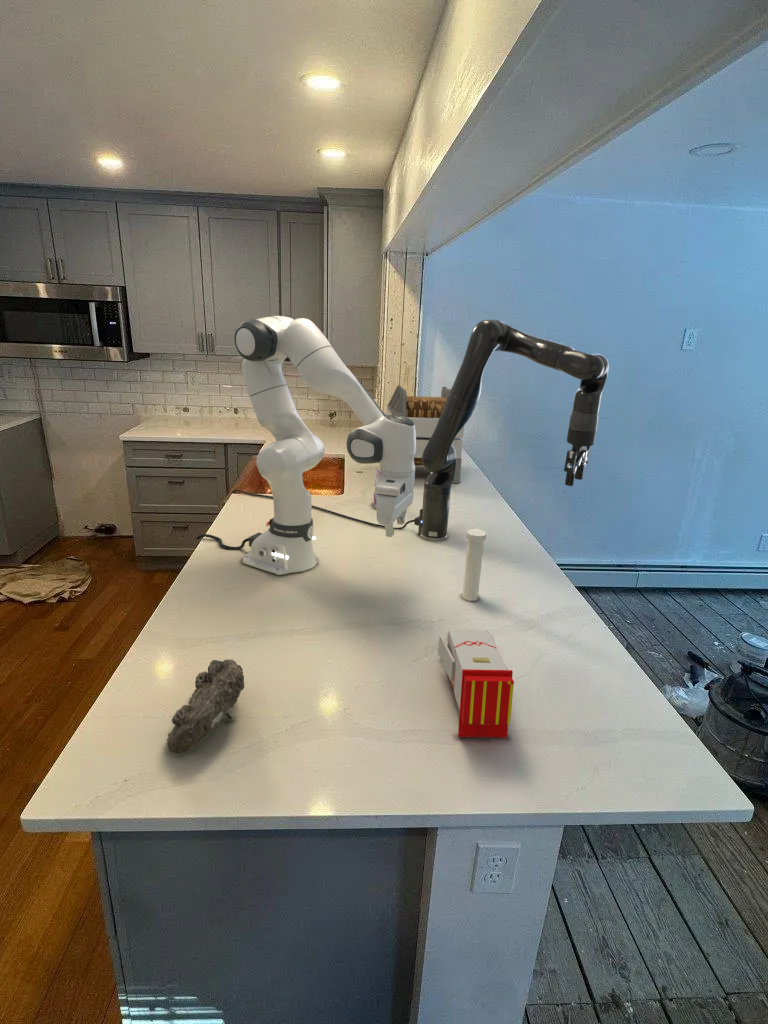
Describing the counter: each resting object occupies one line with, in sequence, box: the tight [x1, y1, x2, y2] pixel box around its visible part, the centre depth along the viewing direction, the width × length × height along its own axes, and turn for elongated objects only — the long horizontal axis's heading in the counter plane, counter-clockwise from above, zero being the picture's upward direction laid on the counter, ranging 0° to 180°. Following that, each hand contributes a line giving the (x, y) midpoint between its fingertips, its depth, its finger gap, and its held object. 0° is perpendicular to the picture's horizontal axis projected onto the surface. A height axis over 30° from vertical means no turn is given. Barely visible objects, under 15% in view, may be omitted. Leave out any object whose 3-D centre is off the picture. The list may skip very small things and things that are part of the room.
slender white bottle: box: [461, 539, 485, 602], centre depth 155 cm, size 4×4×19 cm
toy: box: [437, 628, 515, 738], centre depth 117 cm, size 12×13×30 cm
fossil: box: [166, 658, 245, 754], centre depth 106 cm, size 22×10×15 cm
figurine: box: [372, 469, 381, 509], centre depth 225 cm, size 9×10×15 cm
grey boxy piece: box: [385, 384, 465, 484], centre depth 268 cm, size 34×33×41 cm
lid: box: [466, 528, 487, 543], centre depth 152 cm, size 5×5×2 cm
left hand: (395, 529), depth 150 cm, fingers open, 8 cm apart
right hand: (573, 482), depth 165 cm, fingers open, 8 cm apart
